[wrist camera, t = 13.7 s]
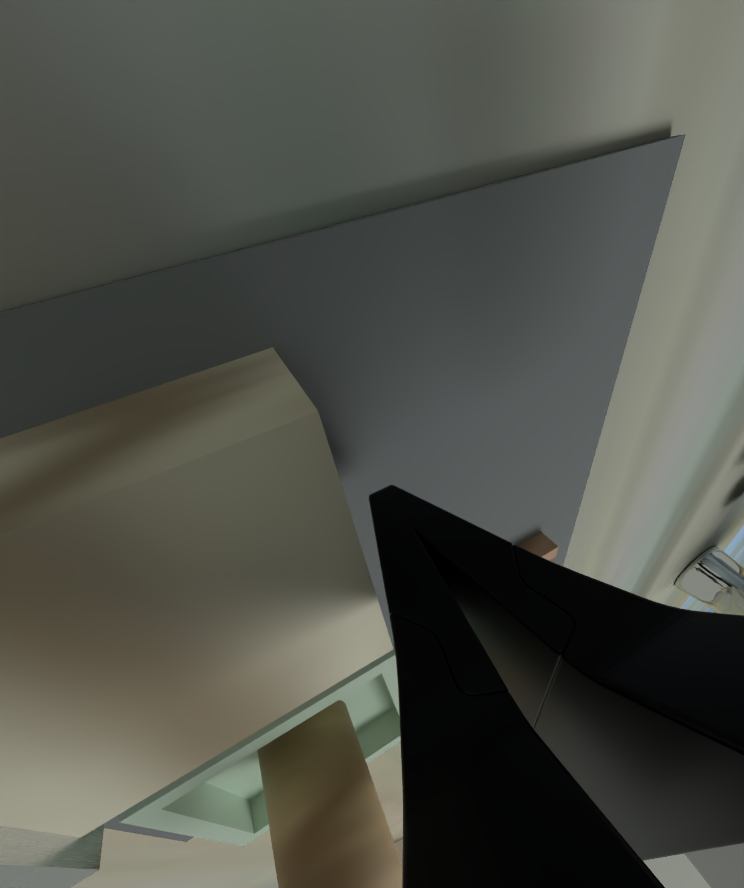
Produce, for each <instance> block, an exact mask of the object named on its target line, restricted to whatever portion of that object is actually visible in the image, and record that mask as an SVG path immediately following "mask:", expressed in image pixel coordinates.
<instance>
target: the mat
mask: <svg viewBox="0 0 744 888" xmlns="http://www.w3.org/2000/svg"><path fill="white" fill-rule="evenodd" d="M684 138H685V135H679V136H672V137H669V138H665V139H661V140H657V141H653V142H649V143H646V144H642V145H638V146H634V147H630V148H626V149H623V150H619V151H615V152H611V153H607V154H604V155H600V156H596V157H592V158H588V159H584V160H581V161H577V162H573V163H569V164H565V165H561V166H558V167H554V168H550V169H546V170H542V171H539V172H535V173H531V174H527V175H523V176H519V177H516V178H512V179H508V180H504V181H500V182H496V183H493V184H489V185H485V186H481V187H477V188H473V189H470V190H466V191H462V192H458V193H454V194H451V195H447V196H443V197H439V198H435V199H431V200H428V201H424V202H420V203H416V204H412V205H408V206H405V207H401V208H397V209H393V210H389V211H386V212H382V213H378V214H374V215H370V216H366V217H363V218H359V219H355V220H351V221H347V222H343V223H340V224H336V225H332V226H328V227H324V228H320V229H317V230H313V231H309V232H305V233H301V234H298V235H294V236H290V237H286V238H282V239H278V240H275V241H271V242H267V243H263V244H259V245H255V246H252V247H248V248H244V249H240V250H236V251H233V252H229V253H225V254H221V255H217V256H213V257H210V258H206V259H202V260H198V261H194V262H190V263H187V264H183V265H179V266H175V267H171V268H167V269H164V270H160V271H156V272H152V273H148V274H145V275H141V276H137V277H133V278H129V279H125V280H122V281H118V282H114V283H110V284H106V285H102V286H99V287H95V288H91V289H87V290H83V291H79V292H76V293H72V294H68V295H64V296H60V297H57V298H53V299H49V300H45V301H41V302H37V303H34V304H30V305H26V306H22V307H18V308H14V309H11V310H7V311H3V312H0V438H3V437H6V436H9V435H12V434H15V433H18V432H21V431H24V430H27V429H30V428H33V427H36V426H39V425H42V424H45V423H48V422H51V421H54V420H57V419H60V418H63V417H66V416H69V415H72V414H75V413H78V412H81V411H84V410H87V409H90V408H93V407H96V406H99V405H102V404H105V403H108V402H111V401H114V400H117V399H120V398H123V397H126V396H129V395H132V394H135V393H138V392H141V391H144V390H147V389H150V388H153V387H156V386H159V385H162V384H165V383H168V382H171V381H174V380H177V379H180V378H183V377H185V376H188V375H191V374H194V373H197V372H200V371H203V370H206V369H209V368H212V367H215V366H218V365H221V364H224V363H227V362H230V361H233V360H236V359H239V358H242V357H245V356H248V355H251V354H254V353H257V352H260V351H263V350H266V349H269V348H272V347H273V348H274V350H275V351H276V353H277V354H278V355H279V357H280V358H281V360H282V361H283V362H284V364H285V365H286V367H287V368H288V369H289V371H290V372H291V374H292V375H293V376H294V378H295V379H296V381H297V382H298V383H299V385H300V386H301V388H302V389H303V390H304V392H305V393H306V395H307V396H308V397H309V399H310V400H311V402H312V403H313V404H314V406H315V407H316V409H317V410H318V412H319V415H320V419H321V422H322V425H323V428H324V431H325V434H326V438H327V441H328V444H329V447H330V450H331V453H332V456H333V460H334V463H335V466H336V469H337V472H338V475H339V479H340V482H341V485H342V488H343V491H344V494H345V498H346V501H347V504H348V507H349V510H350V513H351V517H352V520H353V523H354V526H355V529H356V532H357V535H358V539H359V542H360V545H361V548H362V551H363V554H364V558H365V561H366V564H367V567H368V570H369V573H370V577H371V580H372V583H373V586H374V589H375V592H376V596H377V599H378V602H379V605H380V608H381V611H382V614H383V618H384V621H385V624H386V627H387V630H388V633H389V637H390V639H391V641H392V643H393V645H394V642H393V635H392V629H391V623H390V618H389V616H390V615H389V611H388V605H387V600H386V594H385V588H384V583H383V577H382V571H381V566H380V560H379V554H378V549H377V543H376V537H375V532H374V526H373V520H372V515H371V509H370V504H369V495H370V494H372V493H374V492H376V491H378V490H380V489H383V488H385V487H387V486H389V485H395V486H397V487H399V488H401V489H403V490H405V491H407V492H409V493H411V494H413V495H415V496H417V497H419V498H421V499H423V500H425V501H427V502H429V503H431V504H434V505H436V506H438V507H440V508H442V509H444V510H446V511H448V512H450V513H452V514H454V515H456V516H458V517H460V518H462V519H464V520H466V521H468V522H470V523H472V524H474V525H476V526H478V527H480V528H482V529H484V530H487V531H489V532H491V533H493V534H495V535H497V536H499V537H501V538H503V539H505V540H507V541H509V542H511V543H512V544H513V545H517V546H518V545H520V544H521V543H523V542H525V541H527V540H528V539H530V538H532V537H533V536H535V535H537V534H539V533H540V532H542V533H544V534H545V535H546V536H547V537H548V538H549V539H550V540H551V541H553V542H554V543H555V544H556V545H557V546H558V551H557V555H556V558H555V562H554V563H556V564H558V565H561V566H563V564H564V560H565V557H566V553H567V550H568V546H569V543H570V539H571V536H572V532H573V529H574V525H575V522H576V518H577V515H578V511H579V508H580V504H581V500H582V497H583V493H584V490H585V486H586V483H587V479H588V476H589V472H590V469H591V465H592V462H593V458H594V455H595V451H596V448H597V444H598V441H599V437H600V434H601V430H602V427H603V423H604V420H605V416H606V413H607V409H608V405H609V402H610V398H611V395H612V391H613V388H614V384H615V381H616V377H617V374H618V370H619V367H620V363H621V360H622V356H623V353H624V349H625V346H626V342H627V339H628V335H629V332H630V328H631V325H632V321H633V318H634V314H635V310H636V307H637V303H638V300H639V296H640V293H641V289H642V286H643V282H644V279H645V275H646V272H647V268H648V265H649V261H650V258H651V254H652V251H653V247H654V244H655V240H656V237H657V233H658V230H659V226H660V222H661V219H662V215H663V212H664V208H665V205H666V201H667V198H668V194H669V191H670V187H671V184H672V180H673V177H674V173H675V170H676V166H677V163H678V159H679V156H680V152H681V149H682V145H683V142H684ZM119 819H120V814H119V815H117V816H116V817H114V818H112V819H111V820H109V821H107V822H106V823H104V828H108V829H114V830H119V831H125V832H131V833H137V834H143V835H149V836H155V837H161V838H167V839H172V840H178V841H184V842H187V841H188V840H190V839H191V838H193V837H192V836H187V835H181V834H176V833H171V832H166V831H161V830H156V829H150V828H145V827H140V826H135V825H130V824H124V823H119Z"/></svg>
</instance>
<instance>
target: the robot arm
mask: <svg viewBox="0 0 744 888" xmlns="http://www.w3.org/2000/svg"><path fill="white" fill-rule="evenodd" d="M369 504H370V509H371V515H372V520H373V526H374V532H375V537H376V543H377V549H378V554H379V560H380V566H381V571H382V577H383V583H384V588H385V594H386V600H387V605H388V611H389V615H390V616H389V618H390V623H391V629H392V635H393V642H394V649H395V656H396V667H397V680H398V696H399V717H400V738H401V759H402V783H403V868H402V888H665V887H664V886H663V885H662V884H661V883H660V881H659V880H658V879H657V878H656V876H655V875H654V874H653V873H652V872H651V870H650V869H649V868H648V867H647V866H646V864H645V863H644V862H643V860H648V859H655V858H660V857H666V856H671V855H678V854H683V853H684V854H685V855H686V856H687V858H688V859H689V860H690V861H691V863H692V864H693V865H694V866H695V868H696V869H697V870H698V871H699V873H700V874H701V875H702V877H703V878H704V879H705V880H706V882H707V883H708V884H709V885H710V887H711V888H744V615H734V614H723V613H711V612H700V611H692V610H686V609H680V608H676V607H672V606H667V605H664V604H661V603H657V602H654V601H651V600H648V599H646V598H643V597H640V596H638V595H635V594H632V593H630V592H627V591H625V590H622V589H619V588H617V587H614V586H612V585H609V584H606V583H604V582H601V581H599V580H596V579H593V578H591V577H588V576H585V575H583V574H580V573H578V572H575V571H573V570H570V569H568V568H566V567H563V566H561V565H558V564H556V563H553V562H551V561H549V560H547V559H545V558H542V557H540V556H538V555H536V554H534V553H532V552H530V551H527V550H525V549H523V548H521V547H519V546H517V545H513V544H512V543H511V542H509V541H507V540H505V539H503V538H501V537H499V536H497V535H495V534H493V533H491V532H489V531H487V530H484V529H482V528H480V527H478V526H476V525H474V524H472V523H470V522H468V521H466V520H464V519H462V518H460V517H458V516H456V515H454V514H452V513H450V512H448V511H446V510H444V509H442V508H440V507H438V506H436V505H434V504H431V503H429V502H427V501H425V500H423V499H421V498H419V497H417V496H415V495H413V494H411V493H409V492H407V491H405V490H403V489H401V488H399V487H397V486H395V485H389V486H387V487H385V488H383V489H380V490H378V491H376V492H374V493H372V494H370V495H369Z"/></svg>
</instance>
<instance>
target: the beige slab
mask: <svg viewBox="0 0 744 888" xmlns="http://www.w3.org/2000/svg"><path fill="white" fill-rule="evenodd" d="M391 650H393V646H392V643H391V640H390V637H389V633H388V630H387V627H386V624H385V621H384V618H383V614H382V611H381V608H380V605H379V602H378V599H377V596H376V592H375V589H374V586H373V583H372V580H371V577H370V573H369V570H368V567H367V564H366V561H365V558H364V554H363V551H362V548H361V545H360V542H359V539H358V535H357V532H356V529H355V526H354V523H353V520H352V517H351V513H350V510H349V507H348V504H347V501H346V498H345V494H344V491H343V488H342V485H341V482H340V479H339V475H338V472H337V469H336V466H335V463H334V460H333V456H332V453H331V450H330V447H329V444H328V441H327V438H326V434H325V431H324V428H323V425H322V422H321V419H320V415H319V412H318V410H317V409H316V407H315V406H314V404H313V403H312V402H311V400H310V399H309V397H308V396H307V395H306V393H305V392H304V390H303V389H302V388H301V386H300V385H299V383H298V382H297V381H296V379H295V378H294V376H293V375H292V374H291V372H290V371H289V369H288V368H287V367H286V365H285V364H284V362H283V361H282V360H281V358H280V357H279V355H278V354H277V353H276V351H275V350H274V348H273V347H272V348H269V349H266V350H263V351H260V352H257V353H254V354H251V355H248V356H245V357H242V358H239V359H236V360H233V361H230V362H227V363H224V364H221V365H218V366H215V367H212V368H209V369H206V370H203V371H200V372H197V373H194V374H191V375H188V376H185V377H183V378H180V379H177V380H174V381H171V382H168V383H165V384H162V385H159V386H156V387H153V388H150V389H147V390H144V391H141V392H138V393H135V394H132V395H129V396H126V397H123V398H120V399H117V400H114V401H111V402H108V403H105V404H102V405H99V406H96V407H93V408H90V409H87V410H84V411H81V412H78V413H75V414H72V415H69V416H66V417H63V418H60V419H57V420H54V421H51V422H48V423H45V424H42V425H39V426H36V427H33V428H30V429H27V430H24V431H21V432H18V433H15V434H12V435H9V436H6V437H3V438H0V826H3V827H10V828H17V829H24V830H32V831H39V832H46V833H53V834H60V835H68V836H75V837H82V836H84V835H86V834H87V833H89V832H91V831H92V830H94V829H96V828H97V827H99V826H101V825H102V824H104V823H106V822H107V821H109V820H111V819H112V818H114V817H116V816H117V815H119V814H120V813H122V812H124V811H125V810H127V809H129V808H130V807H132V806H134V805H135V804H137V803H139V802H140V801H142V800H144V799H145V798H147V797H149V796H150V795H152V794H154V793H155V792H157V791H159V790H160V789H162V788H164V787H165V786H167V785H169V784H170V783H172V782H174V781H175V780H177V779H179V778H180V777H182V776H184V775H185V774H187V773H189V772H190V771H192V770H194V769H195V768H197V767H199V766H200V765H202V764H204V763H205V762H207V761H209V760H210V759H212V758H214V757H215V756H217V755H219V754H220V753H222V752H224V751H225V750H227V749H229V748H230V747H232V746H233V745H235V744H237V743H238V742H240V741H242V740H243V739H245V738H247V737H248V736H250V735H252V734H253V733H255V732H257V731H258V730H260V729H262V728H263V727H265V726H267V725H268V724H270V723H272V722H273V721H275V720H277V719H278V718H280V717H282V716H283V715H285V714H287V713H288V712H290V711H292V710H293V709H295V708H297V707H298V706H300V705H302V704H303V703H305V702H307V701H308V700H310V699H312V698H313V697H315V696H317V695H318V694H320V693H322V692H323V691H325V690H327V689H328V688H330V687H332V686H333V685H335V684H337V683H338V682H340V681H341V680H343V679H345V678H346V677H348V676H350V675H351V674H353V673H355V672H356V671H358V670H360V669H361V668H363V667H365V666H366V665H368V664H370V663H371V662H373V661H375V660H376V659H378V658H380V657H381V656H383V655H385V654H386V653H388V652H390V651H391Z"/></svg>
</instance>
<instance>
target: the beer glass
mask: <svg viewBox="0 0 744 888" xmlns="http://www.w3.org/2000/svg"><path fill="white" fill-rule="evenodd" d="M675 586H676V587H677V588H678V589H680V590H682V591H683V592H685V593H687V594H689V595H691V596H692V597H694V598H696V599H698V600H699V601H701V602H702V603H704V604H706V605H707V606H708V607H710V608H711V609H713V610H714V611H715V612H716V613H723V614H734V615H744V568H743V567H742V566H741V565H739V564H738V563H737V562H736V561H734V560H733V559H732V558H731V557H730V556H729V555H727V554H726V553H725V552H724V551H722V550H721V549H720V548H718V547H716V546H714V547H711V548H709V549H708V550H706V551H705V552H703V553H702V554H701V555H700V556H698V557H697V558H696V559H695V560H694V561H693V562H692V563H691V564H690V565H689V566H688V567H687V568H686V569H685V570H684V571H683V572H682V573H681V574H680V576H679V577H678V578H677V580H676V582H675Z"/></svg>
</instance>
